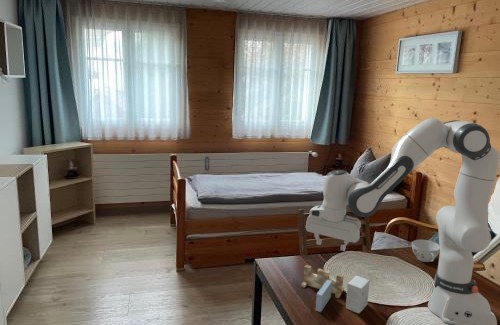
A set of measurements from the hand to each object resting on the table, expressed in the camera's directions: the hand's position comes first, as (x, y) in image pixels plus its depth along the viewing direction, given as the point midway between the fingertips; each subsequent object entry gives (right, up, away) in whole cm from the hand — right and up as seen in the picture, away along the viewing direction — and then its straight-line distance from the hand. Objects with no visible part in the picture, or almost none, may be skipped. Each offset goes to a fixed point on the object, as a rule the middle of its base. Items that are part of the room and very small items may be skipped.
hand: (330, 247), depth 144 cm
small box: (+10, -23, 0) cm, 25 cm away
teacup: (+54, -16, +38) cm, 68 cm away
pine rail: (-1, -20, +12) cm, 23 cm away
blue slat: (-3, -22, +1) cm, 22 cm away
